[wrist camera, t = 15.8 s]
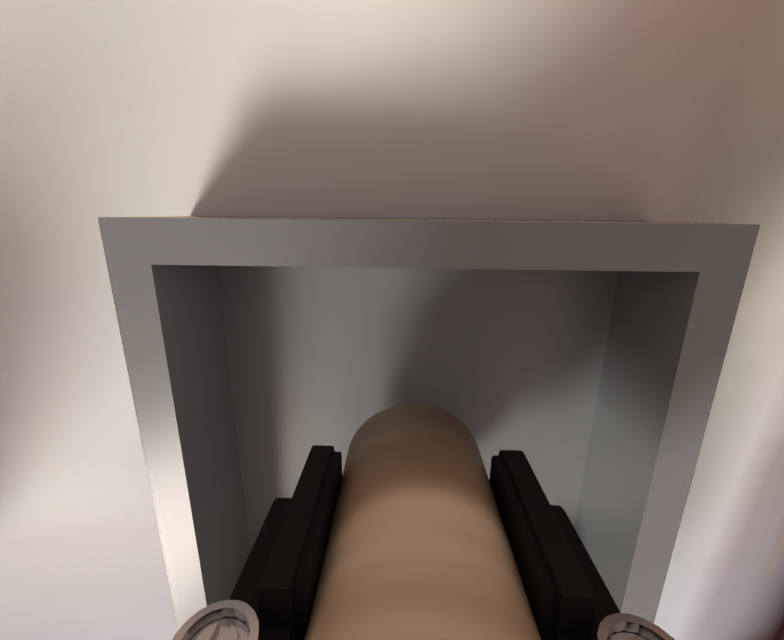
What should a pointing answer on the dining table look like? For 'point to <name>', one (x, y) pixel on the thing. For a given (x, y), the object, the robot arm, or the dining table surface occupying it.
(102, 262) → the dining table surface
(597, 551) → the tray
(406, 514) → the dowel
